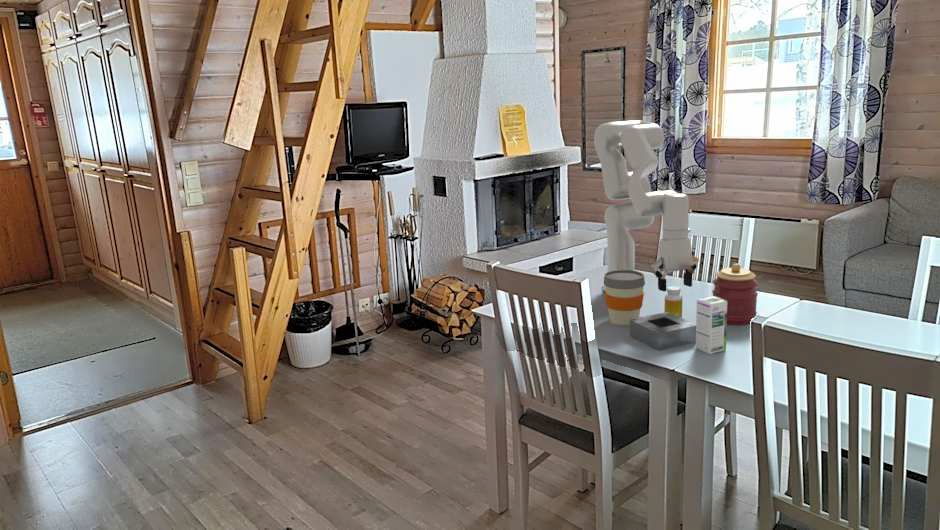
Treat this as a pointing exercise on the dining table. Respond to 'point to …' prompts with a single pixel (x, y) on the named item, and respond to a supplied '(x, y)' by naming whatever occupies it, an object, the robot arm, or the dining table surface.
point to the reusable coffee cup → (624, 295)
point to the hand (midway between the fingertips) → (675, 288)
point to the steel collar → (663, 330)
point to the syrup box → (711, 324)
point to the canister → (737, 293)
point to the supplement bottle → (673, 301)
